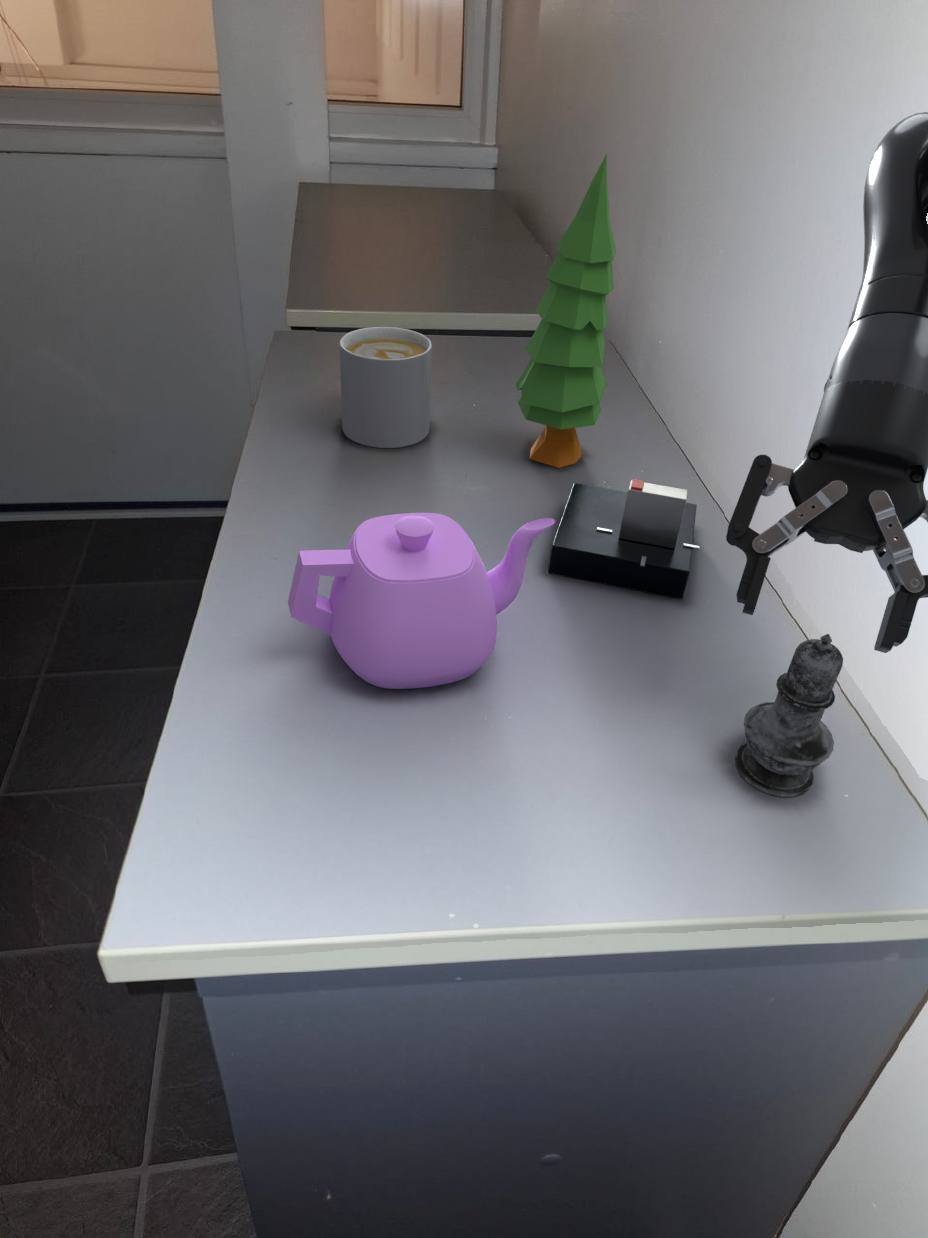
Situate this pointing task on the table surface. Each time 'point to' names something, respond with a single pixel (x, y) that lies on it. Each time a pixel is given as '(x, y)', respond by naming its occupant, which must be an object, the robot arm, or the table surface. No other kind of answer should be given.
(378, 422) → the coffee mug
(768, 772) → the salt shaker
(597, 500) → the hob panel
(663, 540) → the hob knob
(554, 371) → the decorative tree
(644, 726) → the table surface
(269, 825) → the table surface
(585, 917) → the table surface
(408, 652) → the teapot
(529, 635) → the table surface
